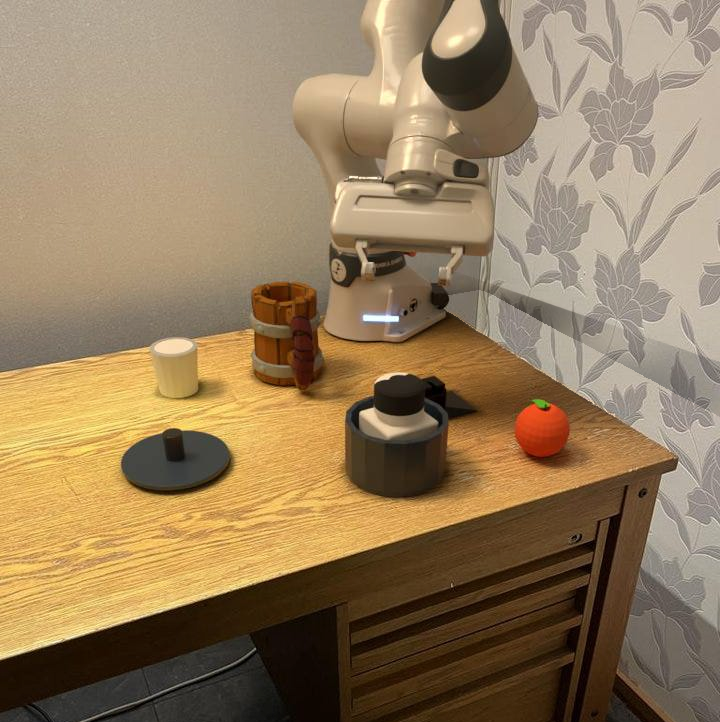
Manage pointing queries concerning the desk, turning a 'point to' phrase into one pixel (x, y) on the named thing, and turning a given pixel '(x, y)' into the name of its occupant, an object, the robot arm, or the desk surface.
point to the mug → (286, 334)
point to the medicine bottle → (398, 409)
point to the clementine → (542, 429)
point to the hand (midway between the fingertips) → (405, 281)
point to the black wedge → (446, 398)
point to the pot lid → (175, 460)
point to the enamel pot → (395, 456)
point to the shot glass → (175, 366)
